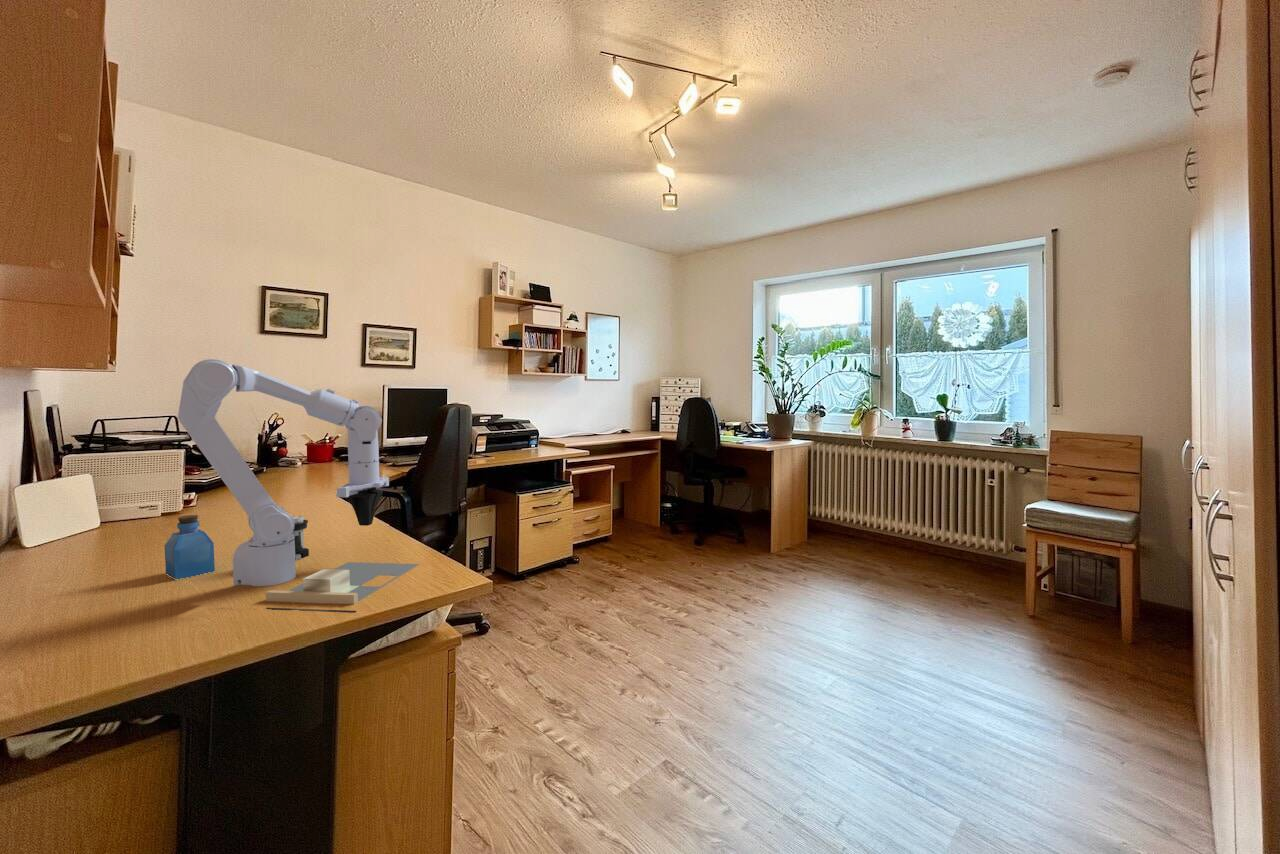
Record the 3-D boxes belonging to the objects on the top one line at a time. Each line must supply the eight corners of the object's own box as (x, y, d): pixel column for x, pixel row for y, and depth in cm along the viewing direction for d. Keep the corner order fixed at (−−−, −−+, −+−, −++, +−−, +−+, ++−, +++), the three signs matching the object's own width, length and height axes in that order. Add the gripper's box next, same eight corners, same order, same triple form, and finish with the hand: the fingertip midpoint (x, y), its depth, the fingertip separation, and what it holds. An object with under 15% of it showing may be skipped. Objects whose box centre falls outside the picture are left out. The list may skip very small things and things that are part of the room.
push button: (282, 569, 106) (280, 523, 106) (268, 565, 109) (266, 520, 108) (314, 560, 112) (312, 516, 112) (300, 557, 115) (298, 514, 114)
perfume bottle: (214, 571, 105) (212, 515, 104) (176, 580, 100) (173, 521, 99) (204, 566, 108) (201, 512, 108) (165, 574, 103) (163, 517, 103)
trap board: (266, 609, 85) (265, 592, 85) (348, 569, 106) (348, 555, 106) (354, 612, 84) (353, 595, 84) (419, 571, 105) (419, 557, 105)
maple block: (303, 598, 86) (302, 578, 86) (324, 587, 91) (323, 569, 91) (330, 599, 86) (330, 579, 86) (350, 588, 91) (349, 569, 91)
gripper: (359, 466, 98) (361, 533, 99) (400, 458, 113) (402, 517, 113) (326, 465, 99) (328, 533, 100) (371, 457, 113) (373, 516, 114)
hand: (365, 524), depth 107 cm, fingers closed
